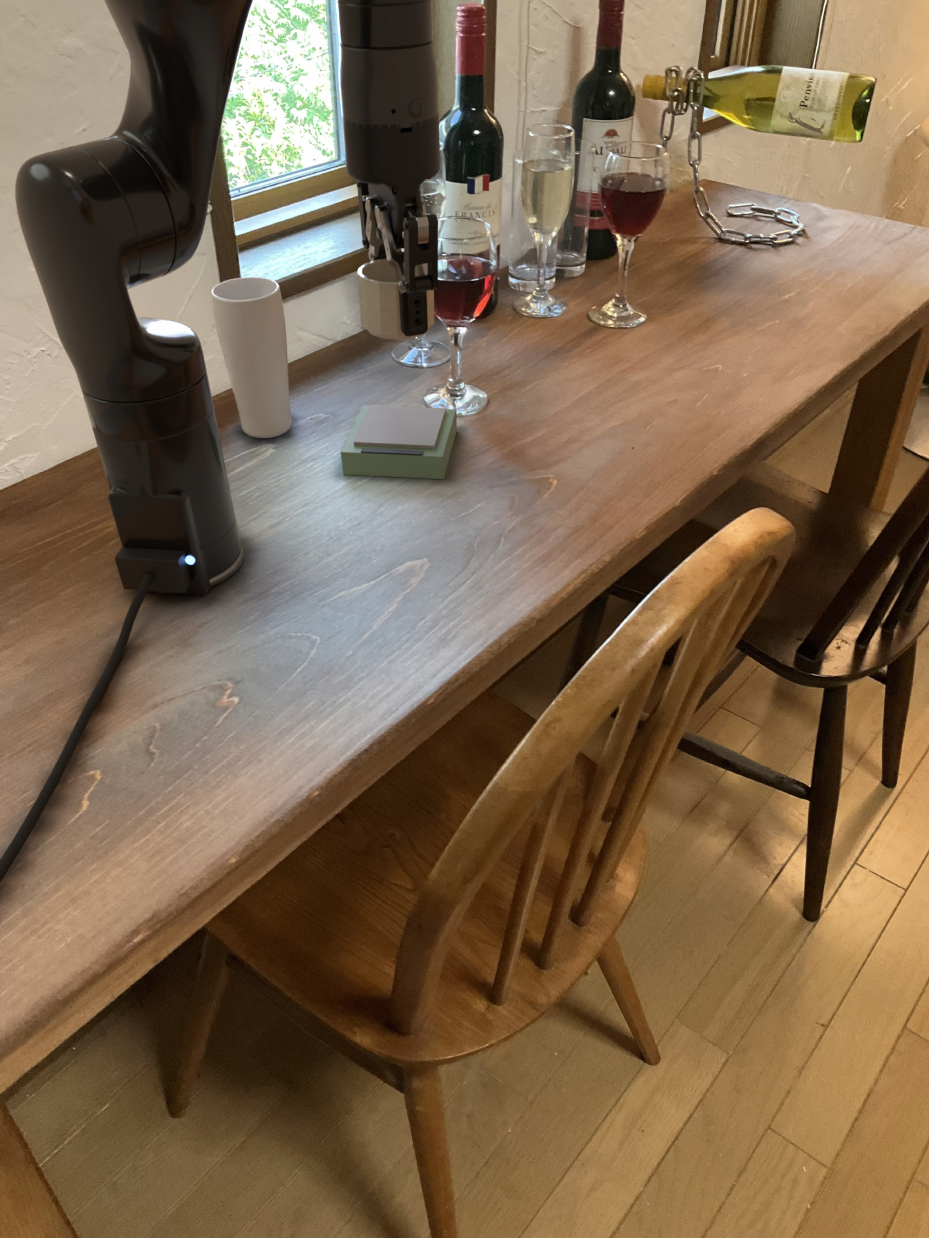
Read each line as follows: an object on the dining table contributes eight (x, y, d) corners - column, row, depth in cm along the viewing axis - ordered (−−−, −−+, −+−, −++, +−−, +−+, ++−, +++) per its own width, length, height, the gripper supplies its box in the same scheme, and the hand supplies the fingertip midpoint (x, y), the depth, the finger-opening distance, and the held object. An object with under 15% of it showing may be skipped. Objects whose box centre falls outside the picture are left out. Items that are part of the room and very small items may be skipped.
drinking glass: (294, 444, 99) (273, 301, 90) (229, 444, 99) (202, 301, 90) (304, 413, 105) (285, 276, 95) (242, 414, 105) (218, 276, 95)
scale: (443, 479, 93) (442, 453, 91) (343, 474, 94) (340, 448, 92) (456, 431, 101) (456, 405, 99) (363, 426, 102) (361, 401, 100)
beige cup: (428, 343, 82) (426, 285, 79) (353, 339, 83) (349, 281, 80) (440, 315, 87) (439, 259, 84) (369, 311, 88) (366, 256, 85)
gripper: (318, 96, 78) (337, 297, 89) (371, 134, 68) (386, 357, 78) (405, 88, 80) (414, 286, 91) (469, 124, 70) (471, 342, 80)
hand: (401, 318), depth 85 cm, fingers closed on beige cup, 6 cm apart
